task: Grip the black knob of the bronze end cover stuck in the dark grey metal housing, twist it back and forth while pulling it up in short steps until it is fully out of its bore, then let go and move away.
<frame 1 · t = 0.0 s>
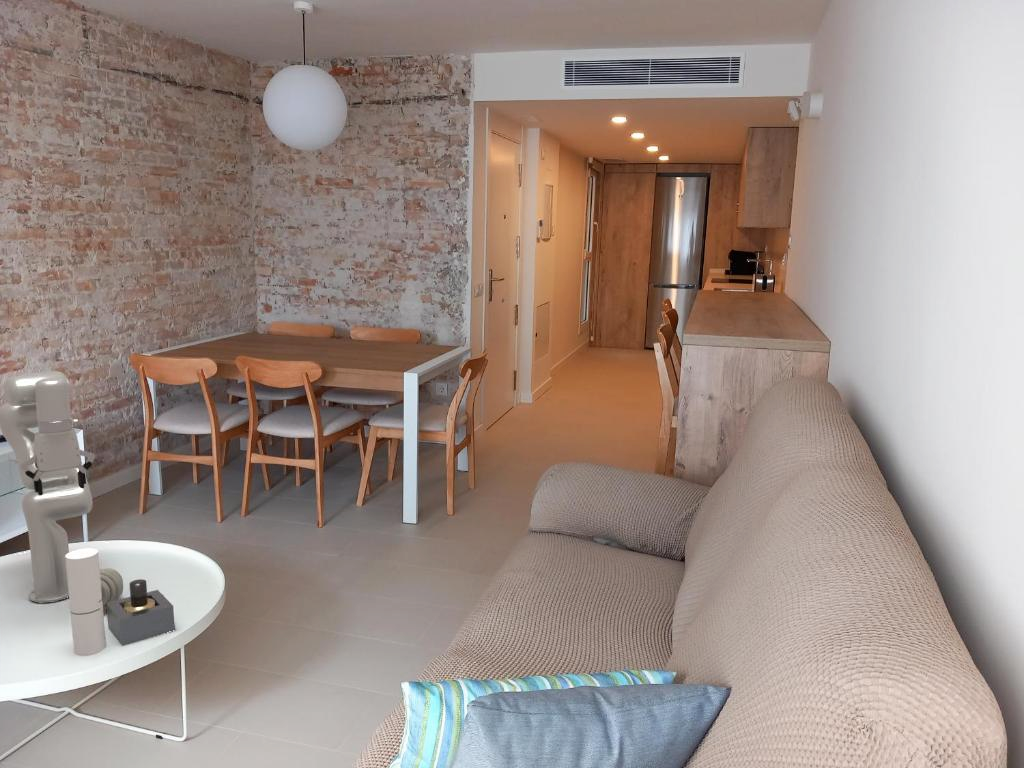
hand: (61, 490, 213), 37 cm above the table, tool pointing down, fingers open, 9 cm apart
end cover: (141, 629, 216), resting on housing, slide at 0.0 cm
housing: (141, 629, 216), on the table
toy sheep: (105, 608, 229), on the table
cylindrical container: (90, 649, 206), on the table
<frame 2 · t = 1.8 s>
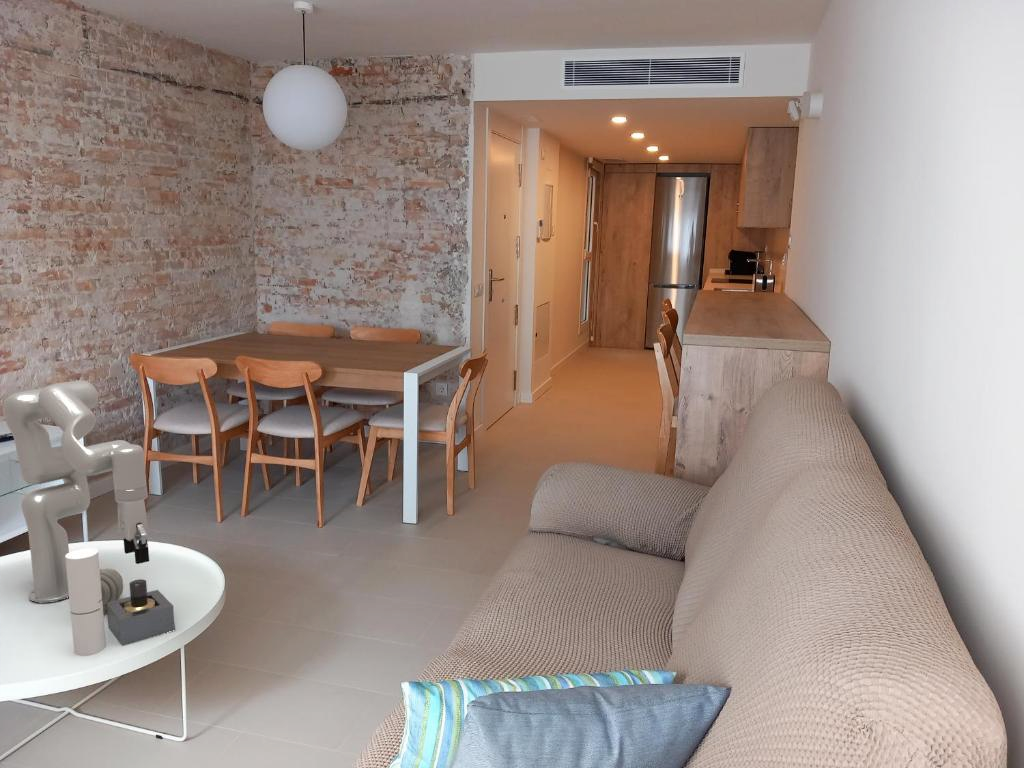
hand: (136, 557, 213), 20 cm above the table, tool pointing down, fingers open, 9 cm apart
nothing on the table moved.
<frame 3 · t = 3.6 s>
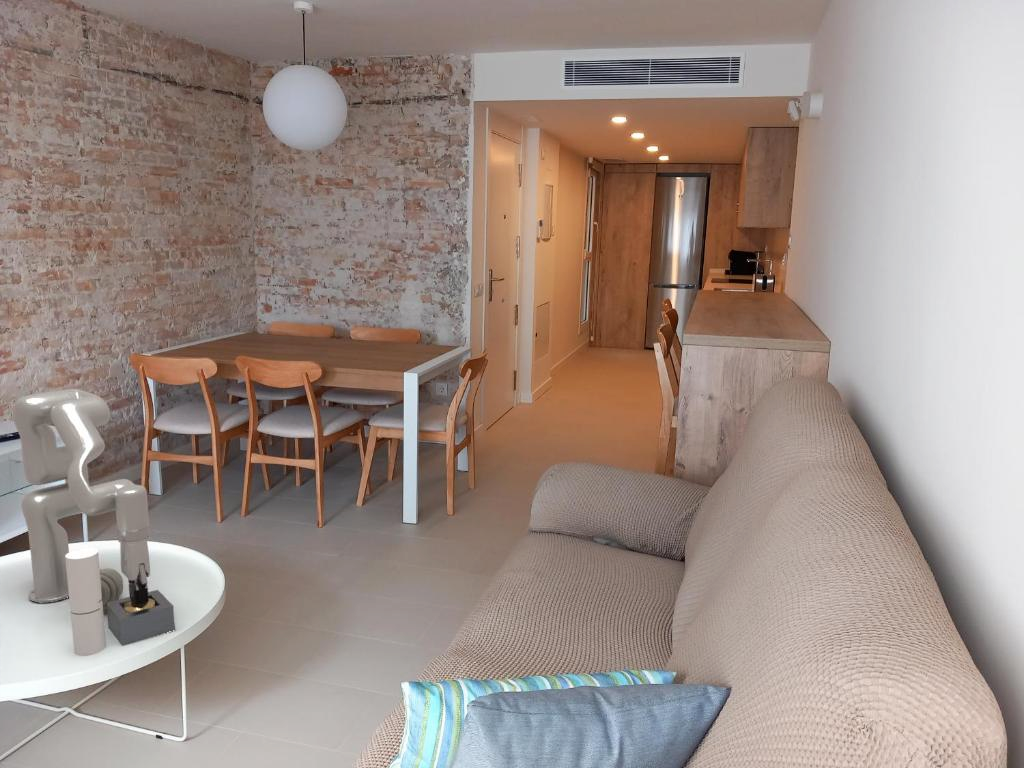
hand: (139, 599, 215), 8 cm above the table, tool pointing down, fingers closed on end cover, 4 cm apart
end cover: (141, 629, 216), resting on housing, slide at 0.0 cm, touching gripper
everything else where it was.
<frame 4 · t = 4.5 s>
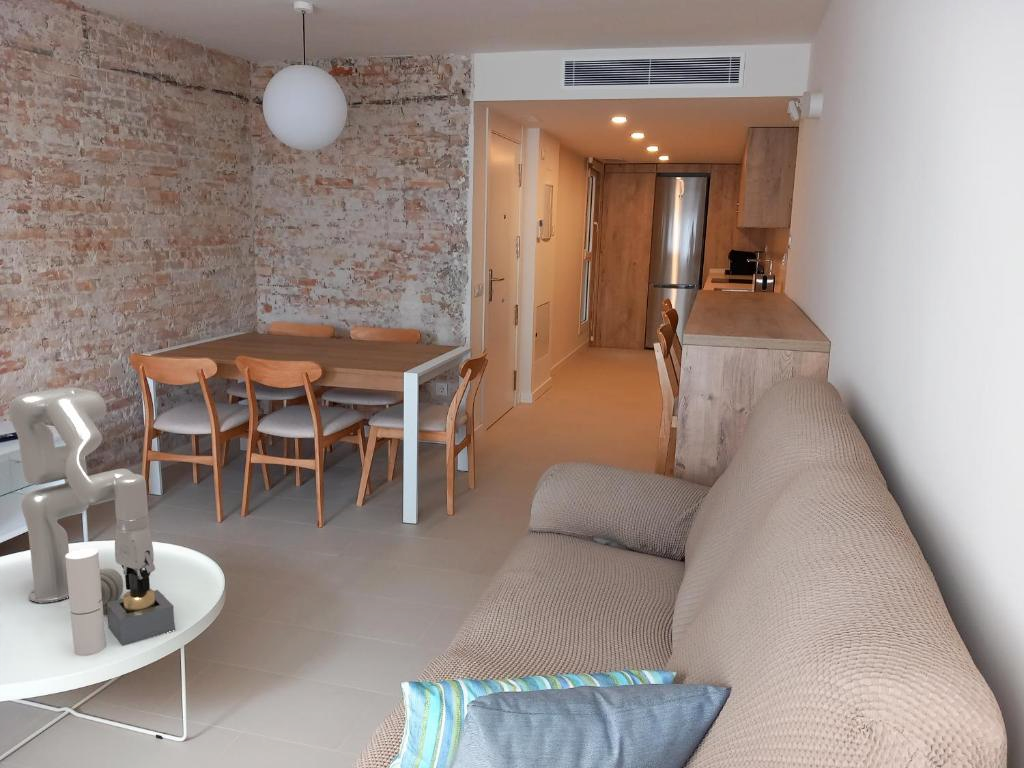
hand: (138, 589, 214), 11 cm above the table, tool pointing down, fingers closed on end cover, 4 cm apart
end cover: (140, 619, 216), point 3 cm above the table, slide at 2.8 cm, touching gripper
everything else where it was.
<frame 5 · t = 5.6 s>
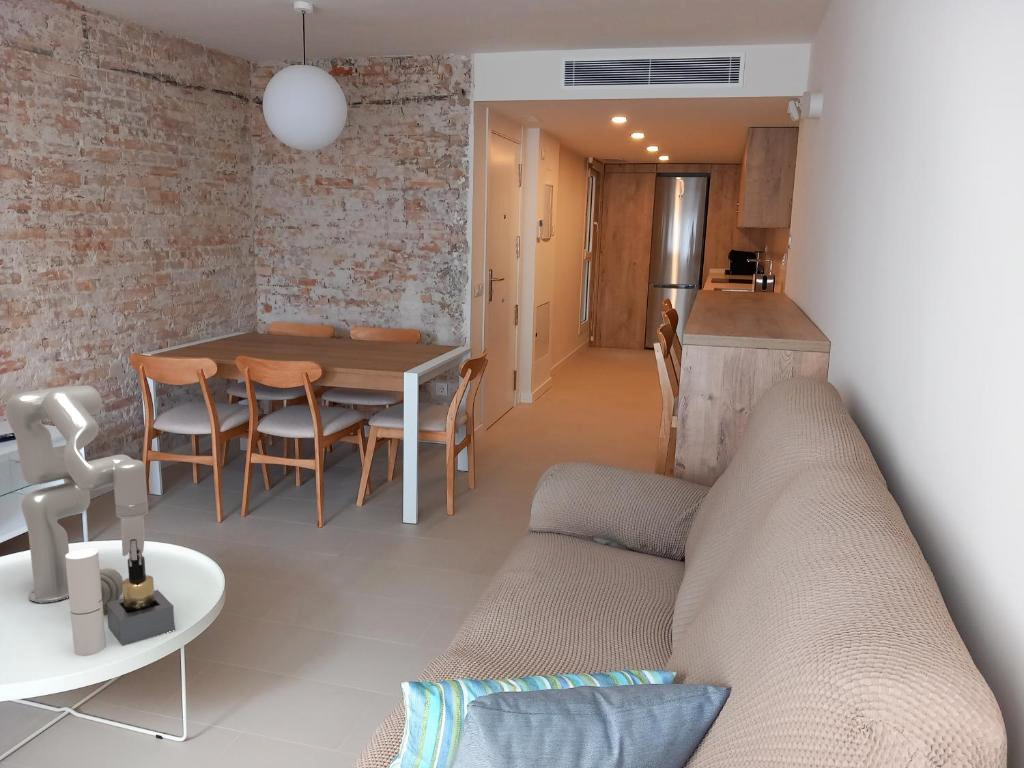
hand: (137, 575, 214), 15 cm above the table, tool pointing down, fingers closed on end cover, 4 cm apart
end cover: (139, 606, 215), point 6 cm above the table, slide at 6.5 cm, touching gripper
everything else where it was.
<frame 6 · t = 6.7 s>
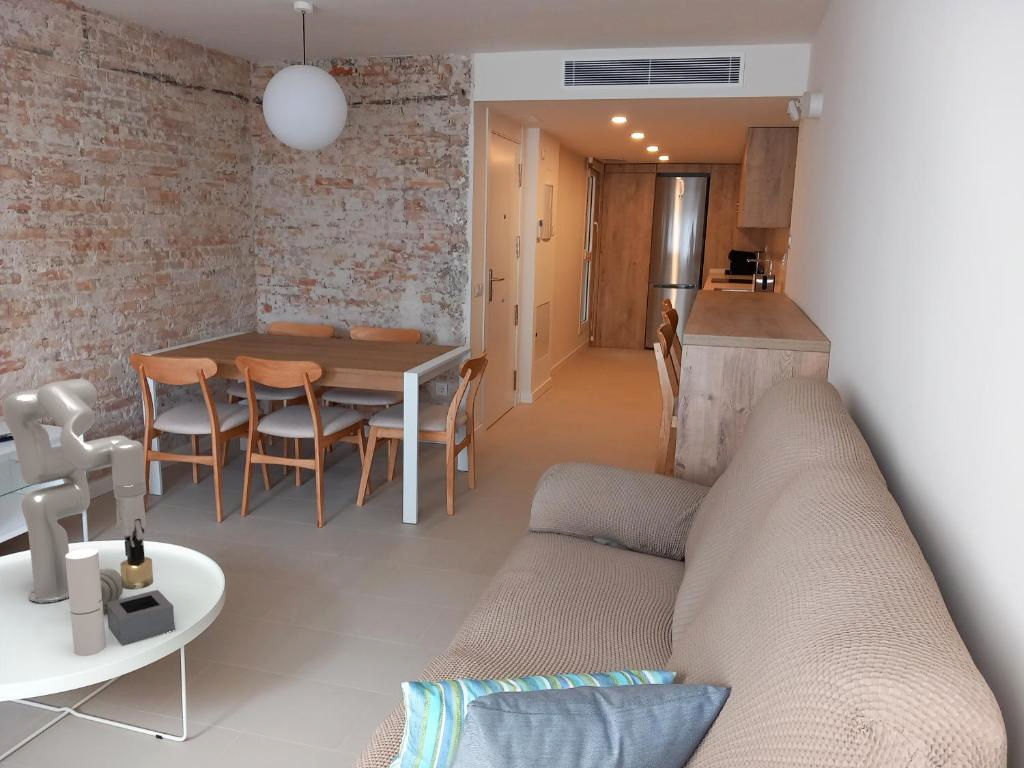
hand: (135, 556, 213), 20 cm above the table, tool pointing down, fingers closed on end cover, 4 cm apart
end cover: (138, 587, 214), point 12 cm above the table, slide at 11.5 cm, touching gripper
everything else where it was.
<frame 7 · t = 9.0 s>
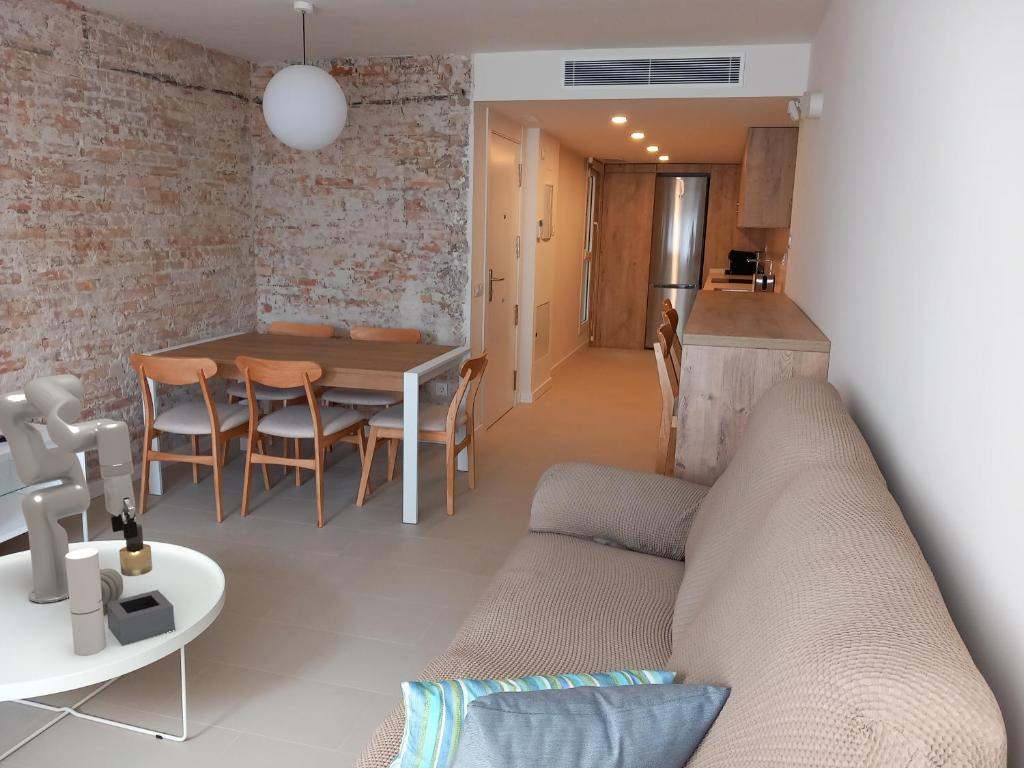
hand: (125, 534, 213), 26 cm above the table, tool pointing down, fingers open, 9 cm apart
end cover: (137, 574, 214), point 15 cm above the table, slide at 15.1 cm, touching gripper
everything else where it was.
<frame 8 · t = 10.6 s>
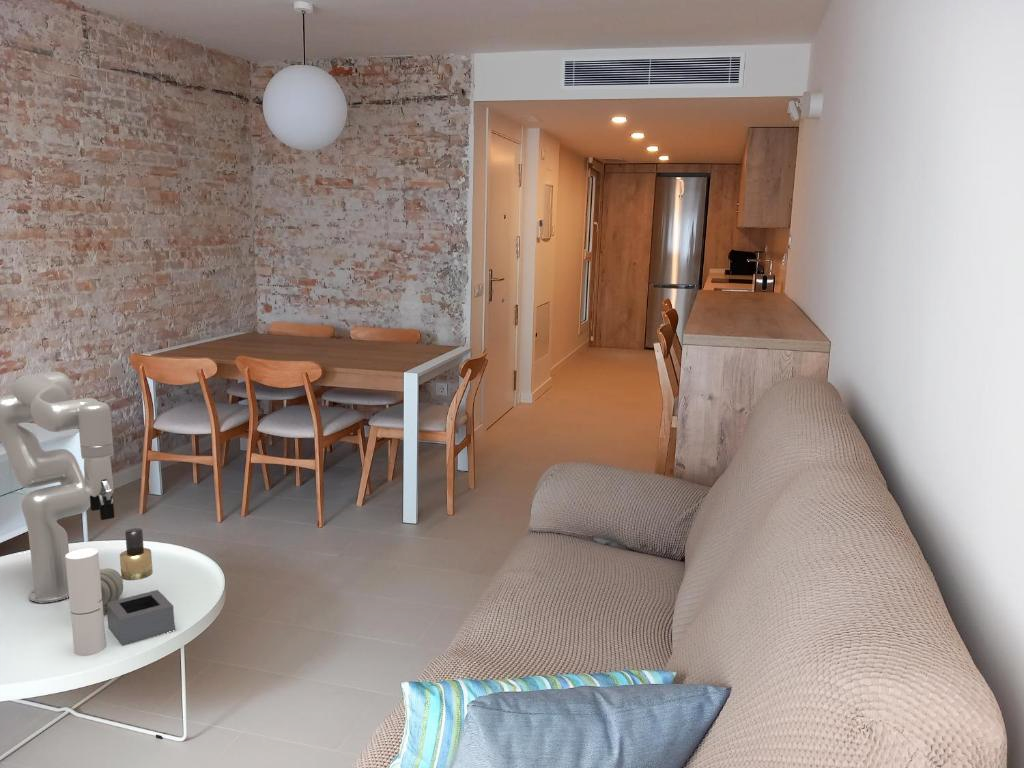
hand: (102, 514, 215), 30 cm above the table, tool pointing down, fingers open, 9 cm apart
end cover: (137, 578, 214), point 14 cm above the table, slide at 14.0 cm
everything else where it was.
at the end: end cover slide at 14.0 cm; the gripper is holding nothing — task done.
